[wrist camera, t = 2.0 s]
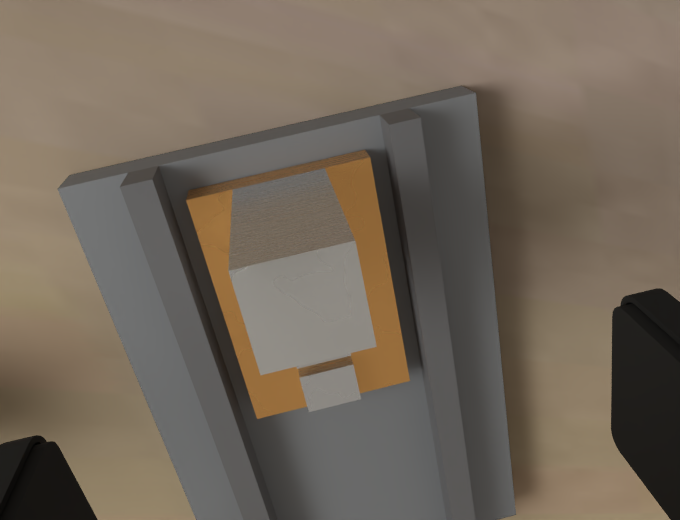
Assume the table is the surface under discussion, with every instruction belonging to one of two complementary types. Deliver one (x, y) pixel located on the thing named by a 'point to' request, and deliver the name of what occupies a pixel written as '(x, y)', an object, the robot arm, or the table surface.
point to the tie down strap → (303, 282)
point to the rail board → (374, 406)
